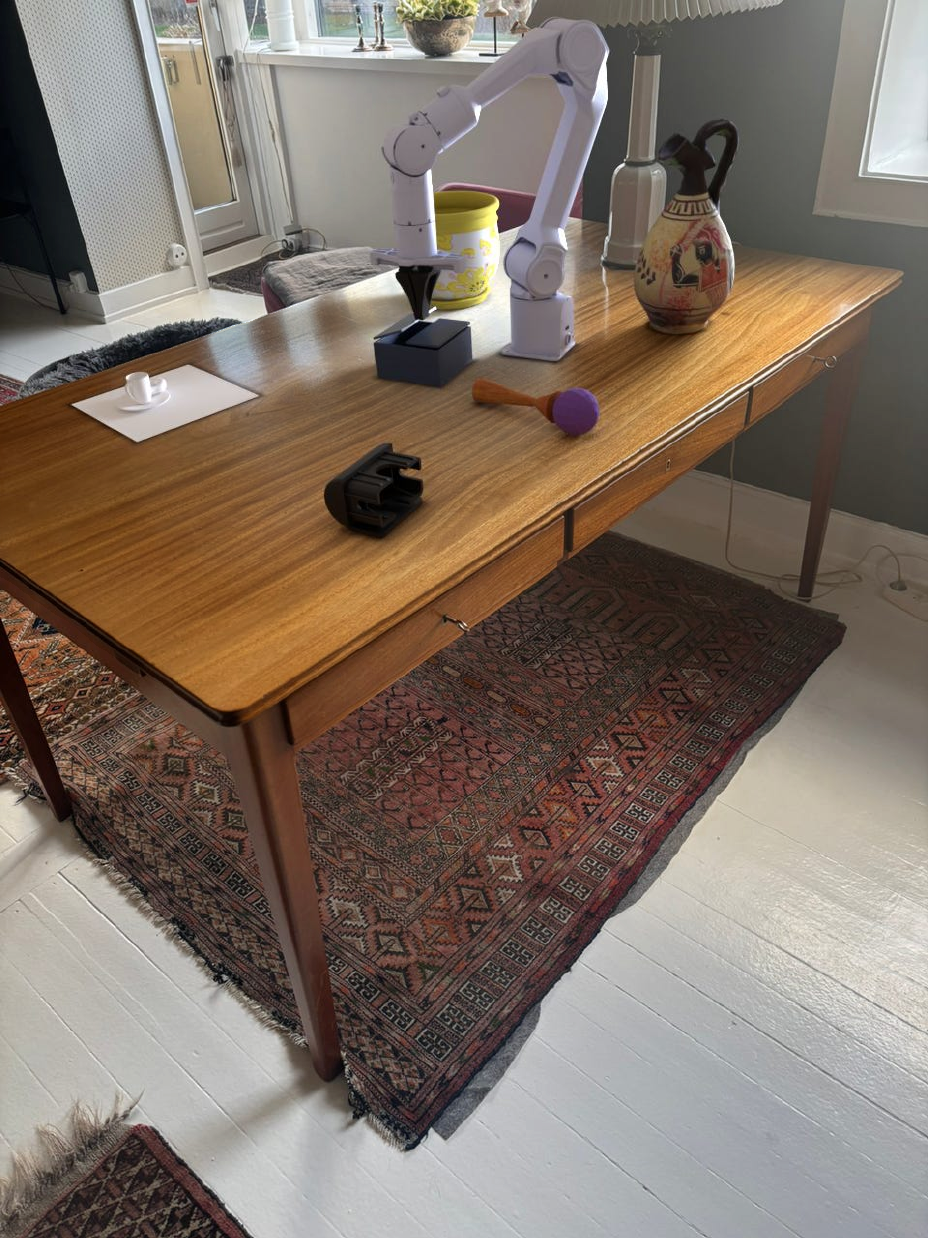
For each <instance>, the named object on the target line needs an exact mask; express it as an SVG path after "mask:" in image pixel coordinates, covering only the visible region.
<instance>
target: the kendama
mask: <svg viewBox="0 0 928 1238" xmlns="http://www.w3.org/2000/svg"><path fill="white" fill-rule="evenodd" d="M471 397H472V399H473V401H474V402H475V403H481V404H482V403H483V404H496V405H508V406H519V407H531V408H532V407H533V408H535V409H536V410H537V411H538V412H539V413H540V414H541V416H543V417H544V418H545V419H546V421H548V422H549V423H550V424H555V426H556V427H557V428H558V429H559V430H560V431H562V432H563V433H564V434H566V435H570V436H582V435H585V434H587V433H588V432H590V431H591V430H592V429H593V428H594V427H595V426H596V425H597V423H598V421H599V419H600V414H601V411H600V406H599V403H598V400H597V398H596V396H594V394H593V393H592V392H590V391H589V390H588V389H585V388H581V387H571V388H568V389H566V390H564V391H560V390H556V391H553V392H551V393H547V394H546V395H545V394H544V395H542V396H539V397H537V398H536V397H533V396H531V395H528V394H525V393H523V392H520V391H517V390H515V389H512V388H510V387H507V386H505V385H502V384H499V383H496V382H494V381H491V380H488V379H485V378H483V377H482V378H481V377H480V378H478V379H476V380H475V382H474V383H473V385H472V389H471Z"/></svg>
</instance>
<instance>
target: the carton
mask: <svg viewBox="0 0 928 1238" xmlns="http://www.w3.org/2000/svg"><path fill="white" fill-rule="evenodd" d="M470 324H471V321H467V320H458V319H451V318H443V317H442V318H441V317H439V318H437V319H436V320H434V321H426V320H419V321H418V322H416V323H415V324H413V325H412V326H410V327H409V328H407V329H406V330H404V331H403V332H400V333H397V334H393V335H390V336H386V337H383V338H379V339H376V340H375V341H374V342H373V351H374V360H375V361H374V362H375V370H376V378H377V379H384V380H388V381H389V380H390V381H397V382H404V383H410V384H416V385H417V384H418V385H425V386H432V387H439V388H441V387H443V386H444V385H445V384H446V383H448V382H449V381H450V380H451V379H453V378H454V377H455V376H456V375H457V374H459V373H460V372H461V371H462V370H464V369H465V368H466V367H467V366H468V365H469V364H471V363H472V362H473V343H472V326H470Z"/></svg>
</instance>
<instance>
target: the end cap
mask: <svg viewBox="0 0 928 1238" xmlns="http://www.w3.org/2000/svg"><path fill="white" fill-rule="evenodd" d="M422 469H423V468H422V459H421V457H420V456H416V455H410V454H408V453H407V454H406V453H401V452H397V451H394V445H393V443H392V442H382V443H379V444H377V445H376V446H375V447H374V448H372V449H371V450H370V451H368V452H367V453H366V454H364V455H363V456H362V457H360V458H359V459H358V460H356V461H355V462H354V463H352V464H350V465H349V466H348V467H346V469H344V470H343V471H341V472H340V473H339V474H337V475H336V476H335V477H333V478H332V479H330V480H329V481H328V482H327V483H326V484H325V487H324V489H323V500H324V505H325V507H326V509H327V510H328V513H329V514H330V515H331V517H332V518H333V519H334V520H335V521H336V522H338V523H339V524H340V525H342V526H343V527H345V528H346V529H347V530H349V531H351V532H354V533H357V534H359V535H360V534H361V535H364V536H368V537H371V538H376V539H384V538H386V536H388V535H389V534H390V533H391V532H392V531H393V530H394V529H396V528H397V527H398V526H399V525H400V524H401V523H402V522H403V521H405V520H406V519H407V518H409V517H410V515H411V514H413V513H414V512H415V511H416V510H418V508H419V507H421V506H422V505H423V503H424V502H423V498H422V497H421V496H422V495H423V493H424V480H423V478H419V477H413V476H409V475H405V474H404V473H403V472H402V470H403V471H408V470H415V471H418V472H420V471H421V470H422Z"/></svg>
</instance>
